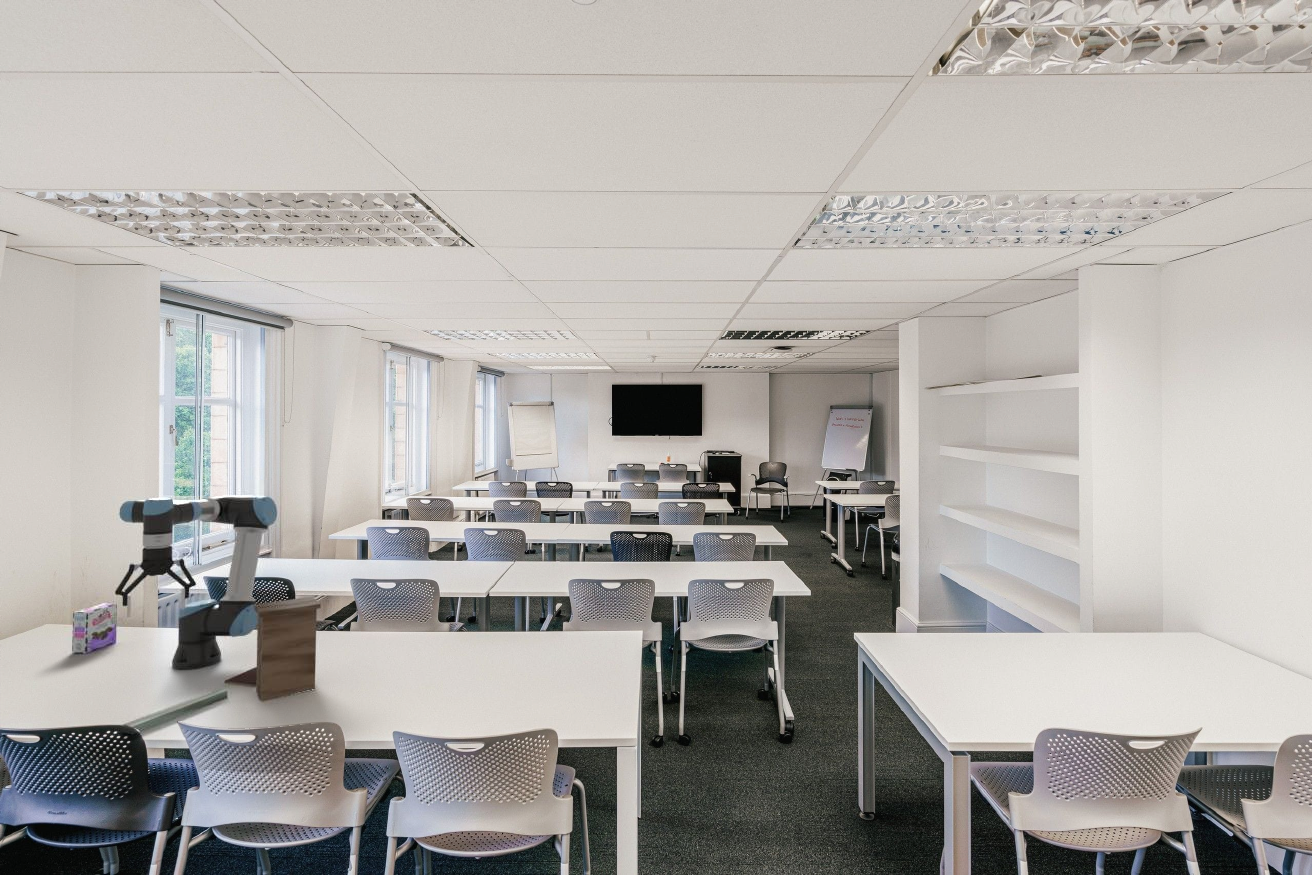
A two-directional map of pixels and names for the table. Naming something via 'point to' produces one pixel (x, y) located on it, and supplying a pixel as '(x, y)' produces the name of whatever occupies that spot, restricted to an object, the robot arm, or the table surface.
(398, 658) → the table surface
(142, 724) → the slat
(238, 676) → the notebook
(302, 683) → the stand
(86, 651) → the candy box
